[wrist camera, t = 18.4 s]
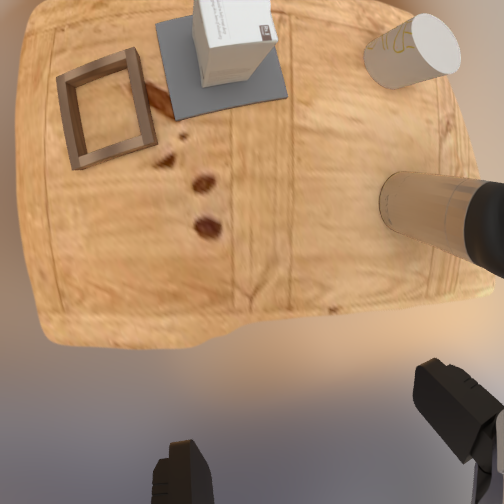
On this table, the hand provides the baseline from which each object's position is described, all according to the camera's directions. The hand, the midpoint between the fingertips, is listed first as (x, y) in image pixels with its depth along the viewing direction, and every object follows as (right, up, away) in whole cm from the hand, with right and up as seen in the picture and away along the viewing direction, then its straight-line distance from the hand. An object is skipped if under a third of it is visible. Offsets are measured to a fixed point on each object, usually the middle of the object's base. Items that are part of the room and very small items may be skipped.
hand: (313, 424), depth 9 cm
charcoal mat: (-6, +30, +25) cm, 39 cm away
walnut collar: (-20, +23, +24) cm, 39 cm away
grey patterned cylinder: (+18, +33, +28) cm, 47 cm away
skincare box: (-6, +29, +24) cm, 38 cm away
